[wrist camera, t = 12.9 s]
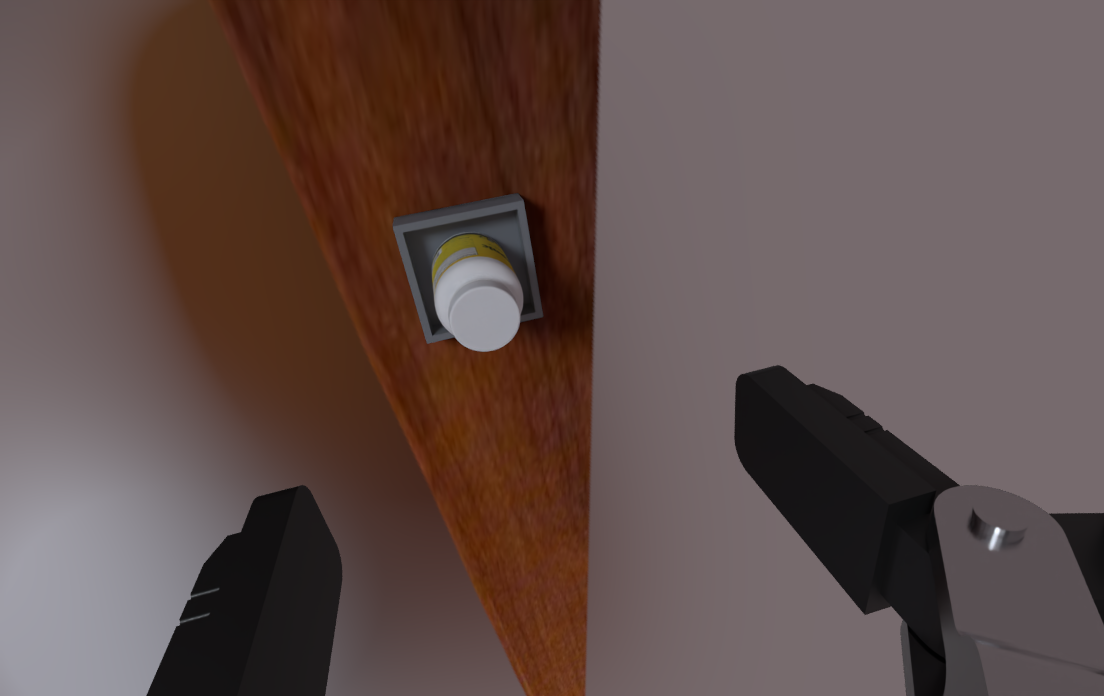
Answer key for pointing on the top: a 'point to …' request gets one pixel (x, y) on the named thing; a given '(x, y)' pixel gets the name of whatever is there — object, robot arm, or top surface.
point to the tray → (435, 226)
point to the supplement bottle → (476, 291)
